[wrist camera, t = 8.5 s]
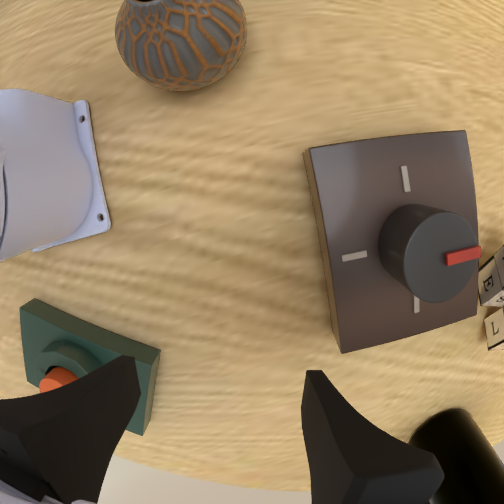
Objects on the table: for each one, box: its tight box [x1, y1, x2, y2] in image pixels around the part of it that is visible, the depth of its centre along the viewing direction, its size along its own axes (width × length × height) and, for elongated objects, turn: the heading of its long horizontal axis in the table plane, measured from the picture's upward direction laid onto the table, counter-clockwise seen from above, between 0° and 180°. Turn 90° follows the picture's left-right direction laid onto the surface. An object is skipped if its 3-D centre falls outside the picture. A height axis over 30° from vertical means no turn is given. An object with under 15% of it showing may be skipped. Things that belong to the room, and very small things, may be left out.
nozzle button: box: [39, 367, 79, 393], centre depth 18 cm, size 4×4×2 cm
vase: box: [115, 0, 247, 91], centre depth 13 cm, size 7×7×9 cm
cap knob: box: [378, 204, 481, 303], centre depth 14 cm, size 4×4×4 cm
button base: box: [20, 299, 161, 436], centre depth 21 cm, size 12×8×4 cm, turn 74°
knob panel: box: [303, 130, 479, 354], centre depth 18 cm, size 12×10×3 cm
